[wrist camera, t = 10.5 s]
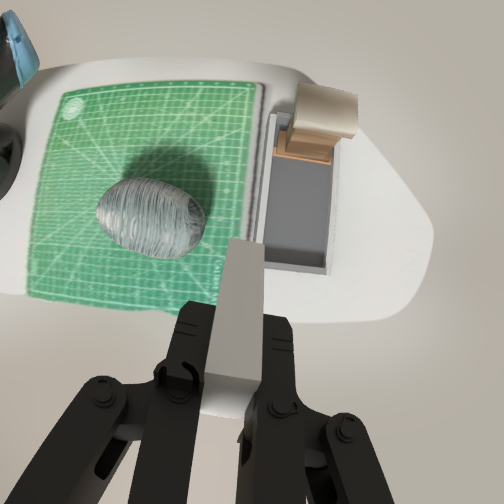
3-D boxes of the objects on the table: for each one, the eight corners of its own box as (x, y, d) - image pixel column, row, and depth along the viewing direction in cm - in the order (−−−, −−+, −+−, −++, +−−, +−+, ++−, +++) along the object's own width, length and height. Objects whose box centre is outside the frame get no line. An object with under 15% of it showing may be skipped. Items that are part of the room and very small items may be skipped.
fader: (328, 167, 38) (362, 132, 26) (275, 159, 38) (291, 118, 26) (329, 137, 38) (361, 95, 26) (278, 128, 38) (294, 80, 26)
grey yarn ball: (226, 191, 36) (181, 207, 27) (209, 259, 40) (166, 291, 31) (141, 161, 39) (88, 170, 30) (132, 223, 43) (83, 243, 34)
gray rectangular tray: (324, 274, 40) (333, 275, 36) (250, 266, 39) (251, 266, 35) (335, 134, 40) (343, 123, 36) (266, 123, 40) (269, 110, 36)
